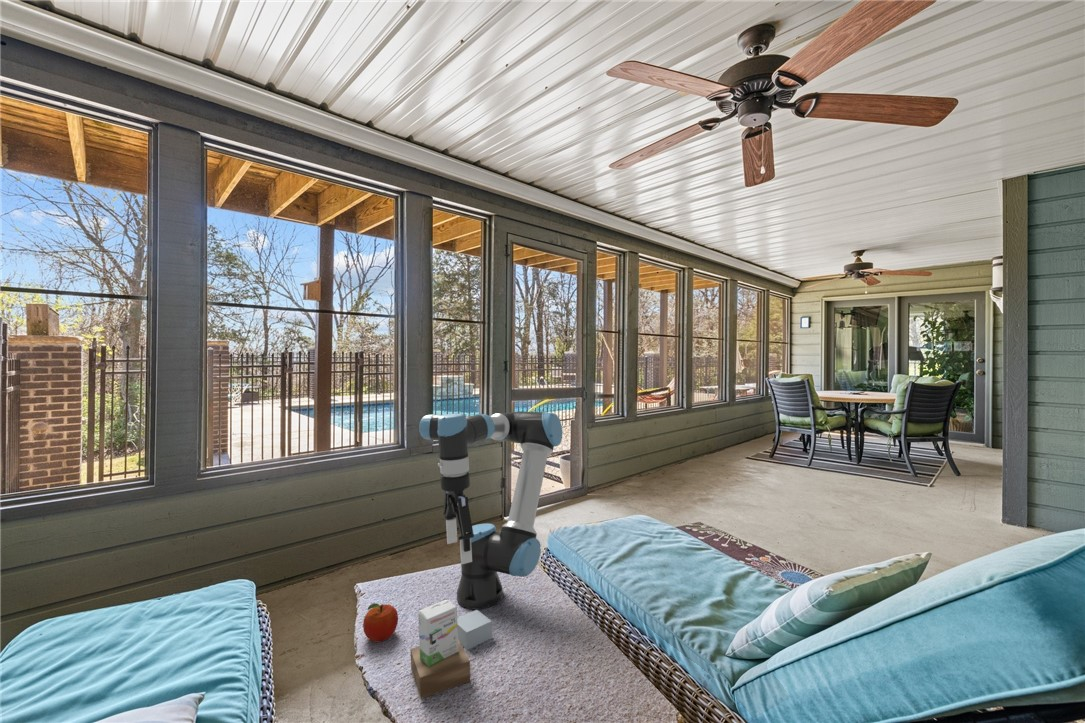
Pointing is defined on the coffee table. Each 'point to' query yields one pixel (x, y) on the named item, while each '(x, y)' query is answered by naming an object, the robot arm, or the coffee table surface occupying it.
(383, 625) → the fruit
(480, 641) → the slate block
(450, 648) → the ink box
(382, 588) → the coffee table surface
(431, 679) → the walnut block
